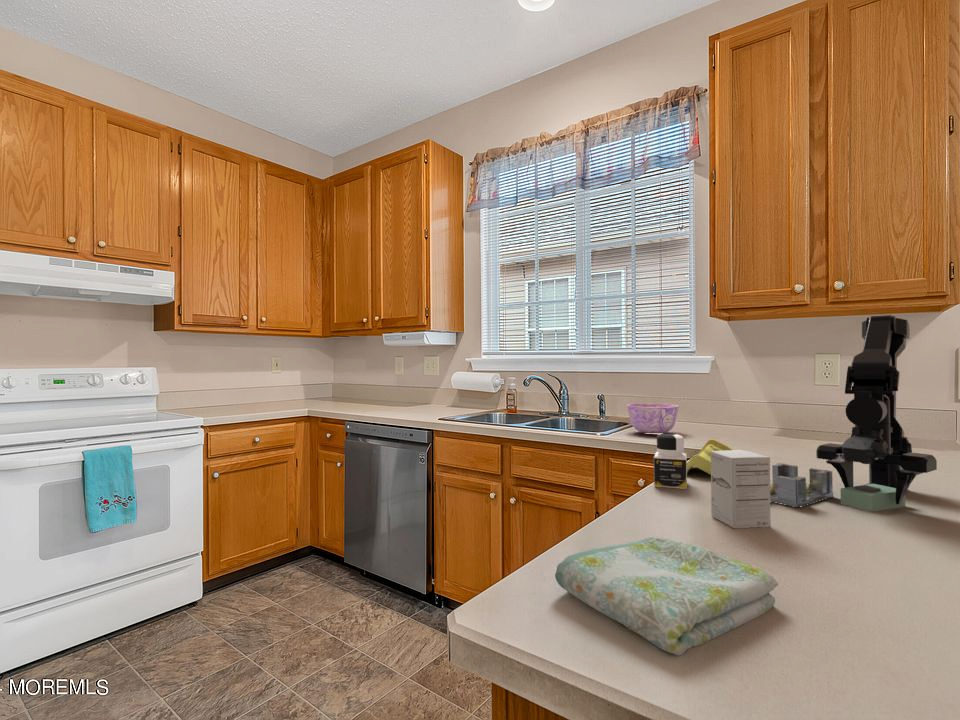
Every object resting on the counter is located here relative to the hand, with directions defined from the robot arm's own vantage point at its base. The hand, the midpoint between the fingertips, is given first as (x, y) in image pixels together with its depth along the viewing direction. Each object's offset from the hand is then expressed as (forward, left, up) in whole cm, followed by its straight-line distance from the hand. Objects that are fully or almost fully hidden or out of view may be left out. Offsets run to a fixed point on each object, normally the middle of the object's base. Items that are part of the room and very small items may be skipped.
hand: (873, 499), depth 104 cm
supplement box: (+32, -9, -1) cm, 33 cm away
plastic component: (-3, -37, -2) cm, 38 cm away
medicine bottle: (+18, -34, -1) cm, 39 cm away
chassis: (+7, -13, -1) cm, 15 cm away
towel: (+69, +3, -2) cm, 69 cm away
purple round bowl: (-48, -93, -1) cm, 105 cm away
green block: (0, 0, -1) cm, 1 cm away
